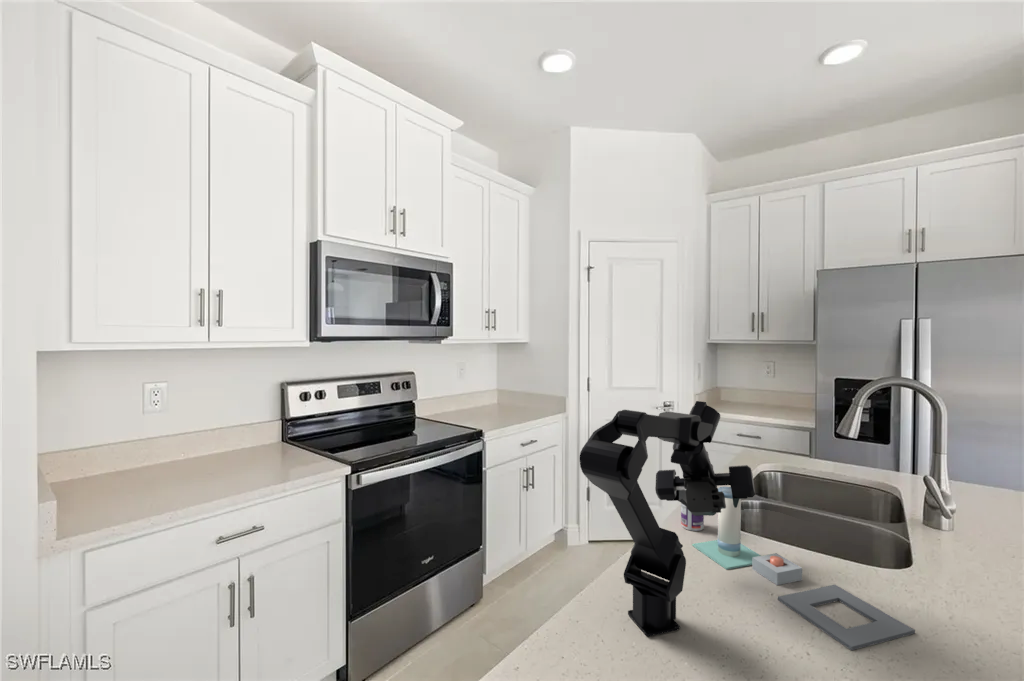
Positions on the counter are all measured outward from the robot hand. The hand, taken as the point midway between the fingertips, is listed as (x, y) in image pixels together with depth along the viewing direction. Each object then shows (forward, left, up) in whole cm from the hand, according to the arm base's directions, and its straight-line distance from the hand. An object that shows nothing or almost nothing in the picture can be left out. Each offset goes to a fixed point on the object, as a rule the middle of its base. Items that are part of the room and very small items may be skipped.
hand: (712, 506), depth 99 cm
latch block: (+10, -8, -13) cm, 17 cm away
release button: (+10, -8, -12) cm, 17 cm away
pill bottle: (+8, +16, -13) cm, 22 cm away
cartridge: (+7, +2, -12) cm, 14 cm away
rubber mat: (+7, +2, -13) cm, 14 cm away
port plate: (+10, -22, -13) cm, 27 cm away
